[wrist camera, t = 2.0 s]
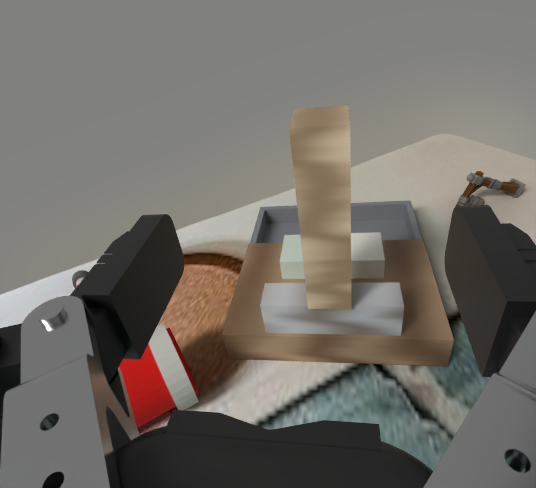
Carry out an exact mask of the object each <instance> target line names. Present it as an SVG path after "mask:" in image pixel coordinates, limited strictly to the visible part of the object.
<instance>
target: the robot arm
mask: <svg viewBox="0 0 536 488" xmlns="http://www.w3.org/2000/svg"><path fill="white" fill-rule="evenodd" d="M104 253H105V254H104V255H102V256H101V257H100V259H99V260H98V261H97V265H94V266H93V267H92V269H91V270H90V271H89V272H88V274H87V275H86V276H85V277H84V279H83V280H82V281H81V282H80V284H79V285H78V286H77V287H76V289H75V290H74V291H73V292H72V294H71V295H70V296H62V297H58V298H54V299H52V300H49V301H47V302H45V303H43V304H41V305H40V306H38V307H37V308H35V309H34V310H33V311H32V312H31V313H30V314H29V315H28V316H27V317H26V318H25V320H24V321H23V323H22V324H18V325H13V326H9V327H4V328H0V488H536V245H535V244H534V242H533V241H532V239H531V238H530V237H529V235H528V234H526V233H525V232H523V231H522V230H520V229H519V228H517V227H515V226H514V225H512V224H511V223H508V224H501V223H500V222H499V220H498V219H497V217H496V216H495V214H494V212H493V211H492V209H491V208H490V206H488V205H469V206H456V207H455V208H454V210H453V213H452V218H451V224H450V229H449V235H448V240H447V246H446V251H445V271H446V276H447V279H448V282H449V284H450V287H451V290H452V293H453V296H454V299H455V301H456V304H457V307H458V310H459V313H460V315H461V318H462V321H463V324H464V327H465V330H466V332H467V335H468V338H469V341H470V344H471V347H472V349H473V352H474V355H475V358H476V361H477V363H478V366H479V369H480V372H481V375H482V377H491V378H490V379H489V381H488V383H487V384H486V386H485V388H484V389H483V391H482V392H481V394H480V396H479V397H478V399H477V401H476V402H475V404H474V406H473V407H472V409H471V410H470V412H469V414H468V415H467V417H466V419H465V420H464V422H463V424H462V425H461V427H460V429H459V430H458V432H457V433H456V435H455V437H454V438H453V440H452V442H451V443H450V445H449V447H448V448H447V450H446V451H445V453H444V455H443V456H442V458H441V460H440V461H439V463H438V465H437V466H436V468H435V469H434V471H432V470H431V469H430V468H429V467H427V466H426V465H425V464H423V463H422V462H421V461H420V460H418V459H417V458H415V457H413V456H412V455H410V454H408V453H407V452H405V451H403V450H401V449H399V448H397V447H395V446H393V445H390V444H387V443H384V442H382V441H381V439H380V429H379V424H369V423H355V422H341V421H327V420H323V421H318V422H312V423H307V424H301V425H296V426H290V427H285V428H279V429H273V430H268V429H263V428H261V427H258V426H255V425H252V424H249V423H247V422H244V421H241V420H238V419H235V418H233V417H230V416H227V415H224V414H221V413H214V412H200V411H186V410H173V411H172V414H171V416H170V419H169V422H168V425H167V426H164V427H161V428H157V429H154V430H151V431H149V432H146V433H144V434H142V435H140V434H139V431H138V429H137V426H136V422H135V419H134V415H133V411H132V408H131V404H130V400H129V397H128V393H127V389H126V386H125V382H124V378H123V375H122V372H121V370H120V368H119V366H120V364H121V362H122V360H123V359H138V360H140V359H141V357H142V355H143V353H144V351H145V349H146V347H147V345H148V343H149V341H150V339H151V337H152V335H153V333H154V331H155V329H156V327H157V325H158V323H159V321H160V319H161V317H162V315H163V313H164V311H165V309H166V307H167V305H168V303H169V301H170V299H171V297H172V295H173V293H174V291H175V289H176V287H177V285H178V283H179V280H180V278H181V276H182V274H183V270H184V256H183V253H182V249H181V246H180V243H179V240H178V237H177V234H176V230H175V227H174V224H173V221H172V219H171V217H170V216H169V215H167V214H163V215H162V214H161V215H143V216H141V217H140V219H139V220H138V221H137V222H136V224H135V225H134V226H133V228H132V229H131V230H130V231H128V232H126V233H125V234H123V235H122V236H120V237H119V238H118V239H116V240H115V241H113V243H112V244H111V245H110V246H109V248H108V249H107V250H106V251H105V252H104Z"/></svg>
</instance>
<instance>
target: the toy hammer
mask: <svg viewBox="0 0 536 488" xmlns="http://www.w3.org/2000/svg"><path fill="white" fill-rule="evenodd" d="M87 274H88V272H87V271H83V270H81V271H78V272H76V273H75V274H74V275H73V278H72V281H73V286H74V287H75V289H76V287H77V286H78V285H79V284H80V282H81V281H82V280H83V279H84V277H85V276H86V275H87ZM119 368H120V370H121V372H122V375H123V378H124V382H125V386H126V389H127V393H128V397H129V400H130V404H131V408H132V411H133V415H134V419H135V422H136V426H137V428H139V427H140V426H142V425H144V424H146V423H147V422H149V421H151V420H153V419H154V418H156V417H158V416H160V415H162V414H163V413H165V412H167V411H169V410H170V409H172V408H174V407H176V406H177V408H178V410H185V409H187V408H189V407H191V406H192V405H194V404H196V403H198V402H199V401H198V399H197V396H196V395H197V394H199V391H198V389H197V386H196V384H195V382H194V379H193V377H192V375H191V372H190V370H189V368H188V366H187V363H186V361H185V359H184V357H183V355H182V353H181V350H180V348H179V346H178V344H177V342H176V340H175V338H174V336H173V334H172V332H171V330H170V328H168V329H166V328H165V326H164V324H163V323H162V324H160V325H158V326H157V327H156V329H155V331H154V333H153V335H152V337H151V339H150V341H149V343H148V345H147V347H146V349H145V351H144V353H143V355H142V357H141V359H140V360H138V359H123V360H122V362H121V364H120V366H119Z"/></svg>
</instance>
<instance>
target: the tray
mask: <svg viewBox="0 0 536 488" xmlns="http://www.w3.org/2000/svg"><path fill="white" fill-rule="evenodd" d="M373 232H380V233H381V239H382V240H408V239H422V237H421V234H420V230H419V227H418V224H417V220H416V217H415V214H414V211H413V207H412V204H411V201H391V202H368V203H351V233H373ZM284 235H300V227H299V218H298V208H297V206H276V207H261V208H260V211H259V214H258V218H257V221H256V225H255V228H254V231H253V235H252V238H251V242H250V243H283V241H284Z"/></svg>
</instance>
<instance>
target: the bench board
mask: <svg viewBox="0 0 536 488" xmlns="http://www.w3.org/2000/svg"><path fill="white" fill-rule="evenodd" d="M382 245H383V252H384V258H385V267H384V278H354V279H351V283H400V288H401V293H402V298H403V303H404V313H403V322H402V331H401V336H392V335H345V334H298V333H266V331H265V327H264V322H263V317H262V312H261V307H260V304H261V299H262V294H263V290H264V285H265V283H305V279H282V274H281V267H280V257H281V252H282V246H283V243H249V245H248V248H247V252H246V255H245V258H244V262H243V265H242V268H241V272H240V275H239V278H238V282H237V285H236V288H235V292H234V295H233V298H232V302H231V305H230V309H229V312H228V315H227V319H226V322H225V325H224V329H223V332H222V338H223V341H224V344H225V347H226V351H227V354H228V357H229V359H253V360H282V361H310V362H339V363H367V364H395V365H424V366H448V364H449V359H450V355H451V351H452V347H453V342H454V339H453V335H452V332H451V329H450V326H449V322H448V319H447V316H446V313H445V309H444V306H443V303H442V300H441V296H440V293H439V290H438V287H437V283H436V280H435V277H434V274H433V270H432V267H431V264H430V261H429V257H428V254H427V251H426V248H425V244H424V241H423V239H408V240H382Z"/></svg>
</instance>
